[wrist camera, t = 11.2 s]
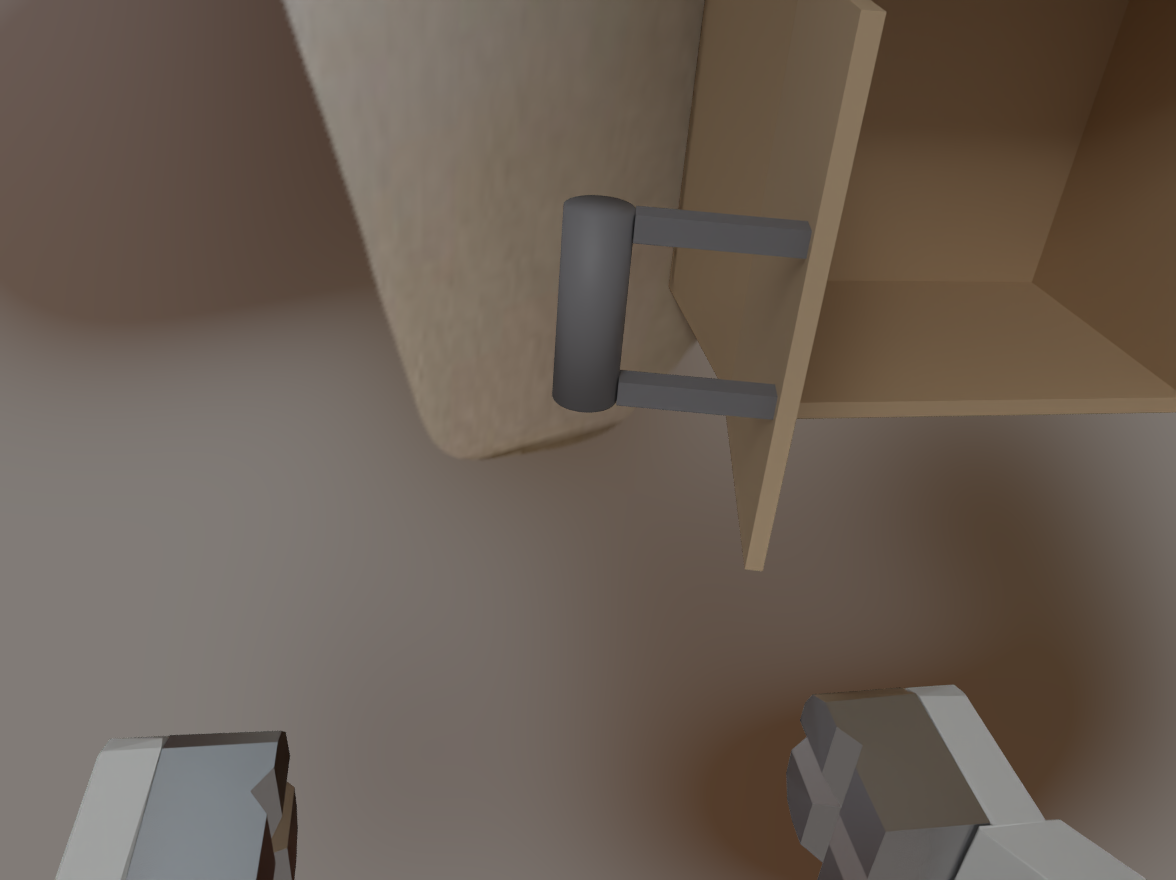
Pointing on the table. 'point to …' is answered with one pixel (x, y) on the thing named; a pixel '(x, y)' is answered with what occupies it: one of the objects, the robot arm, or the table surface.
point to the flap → (777, 239)
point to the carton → (963, 207)
